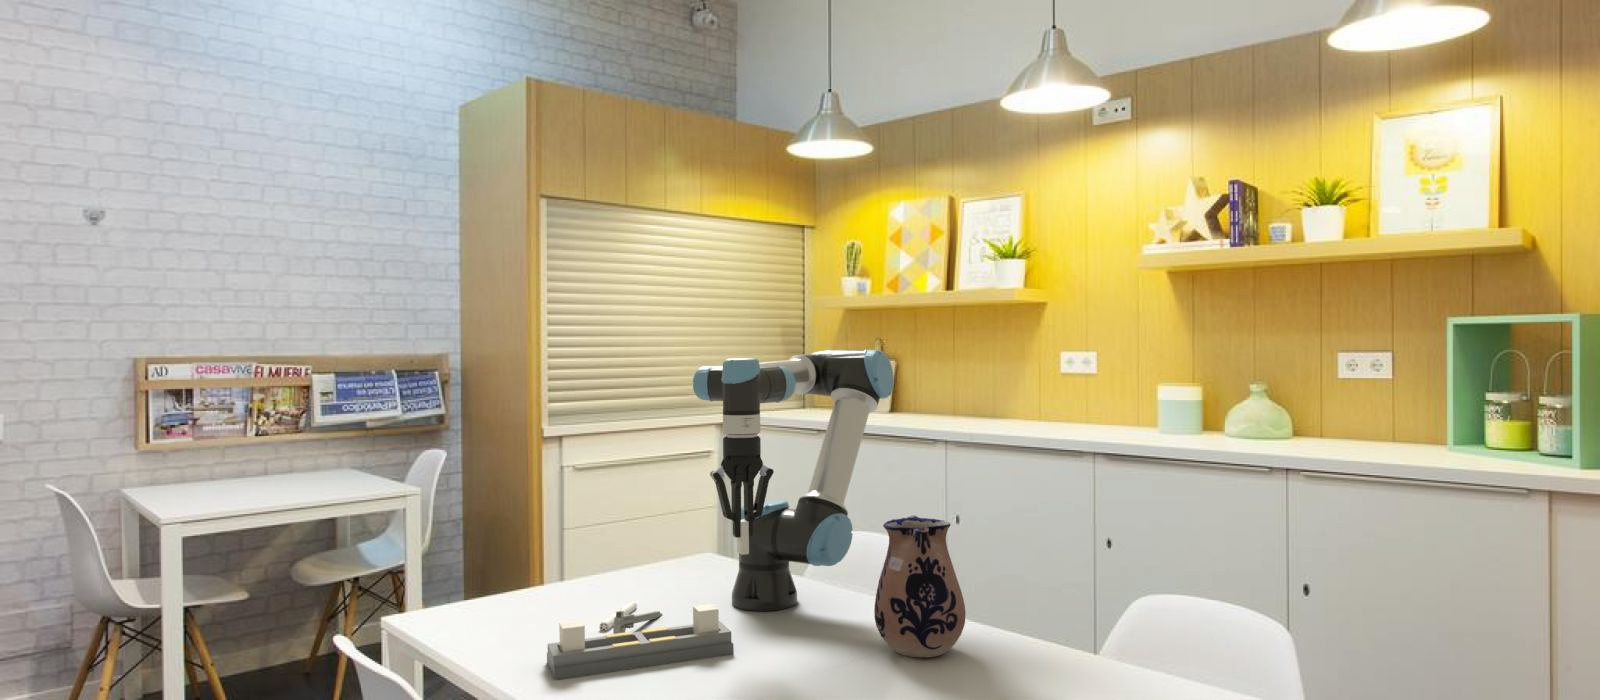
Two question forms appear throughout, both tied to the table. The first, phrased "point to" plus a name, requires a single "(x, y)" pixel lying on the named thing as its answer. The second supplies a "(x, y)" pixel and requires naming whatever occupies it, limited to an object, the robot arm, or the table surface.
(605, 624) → the marker
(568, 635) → the tab
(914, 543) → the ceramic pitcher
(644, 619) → the caliper
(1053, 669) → the table surface
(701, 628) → the tab
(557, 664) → the switch board
